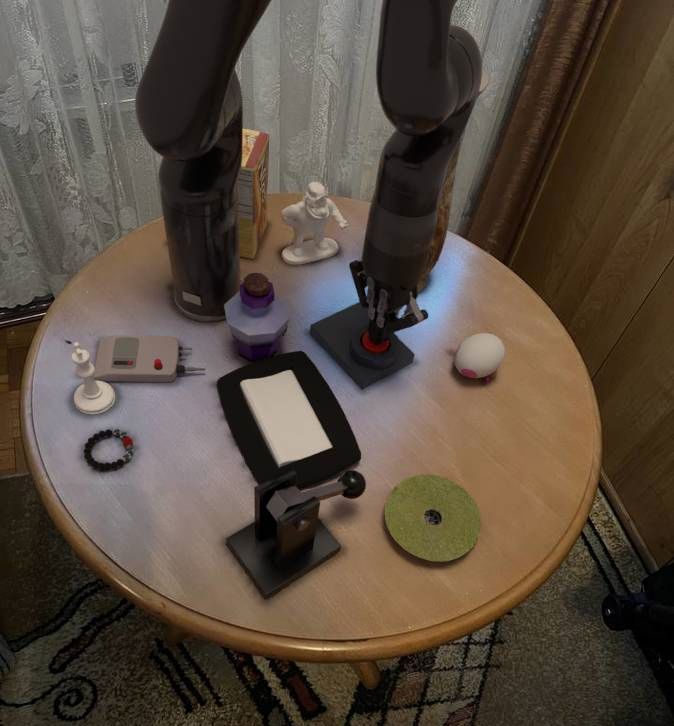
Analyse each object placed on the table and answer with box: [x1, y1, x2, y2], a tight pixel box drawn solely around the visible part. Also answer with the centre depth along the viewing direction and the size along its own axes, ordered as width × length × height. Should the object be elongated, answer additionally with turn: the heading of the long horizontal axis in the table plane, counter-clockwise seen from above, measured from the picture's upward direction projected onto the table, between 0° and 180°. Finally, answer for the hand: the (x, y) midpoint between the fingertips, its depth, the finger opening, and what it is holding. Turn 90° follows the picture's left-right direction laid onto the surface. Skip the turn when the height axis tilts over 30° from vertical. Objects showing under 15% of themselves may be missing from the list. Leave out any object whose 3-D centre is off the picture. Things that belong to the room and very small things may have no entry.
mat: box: [384, 473, 482, 562], centre depth 76 cm, size 11×11×2 cm
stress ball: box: [452, 331, 506, 383], centre depth 89 cm, size 8×8×7 cm
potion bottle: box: [224, 272, 291, 363], centre depth 84 cm, size 9×9×12 cm
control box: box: [309, 301, 415, 390], centre depth 89 cm, size 12×9×4 cm
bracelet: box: [83, 428, 135, 471], centre depth 77 cm, size 6×6×1 cm
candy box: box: [237, 128, 270, 260], centre depth 95 cm, size 9×4×15 cm, turn 171°
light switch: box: [216, 350, 362, 491], centre depth 81 cm, size 20×3×14 cm
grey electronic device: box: [93, 334, 206, 383], centre depth 84 cm, size 7×16×3 cm, turn 94°
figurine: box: [280, 181, 349, 266], centre depth 96 cm, size 9×7×12 cm
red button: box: [361, 332, 389, 354], centre depth 87 cm, size 4×4×2 cm
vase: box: [418, 69, 490, 293], centre depth 88 cm, size 10×11×30 cm
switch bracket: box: [225, 467, 342, 600], centre depth 68 cm, size 10×8×12 cm
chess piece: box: [71, 341, 116, 415], centre depth 77 cm, size 5×5×10 cm
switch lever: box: [266, 469, 367, 521], centre depth 68 cm, size 13×3×3 cm, turn 127°
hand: (377, 339), depth 87 cm, fingers closed
